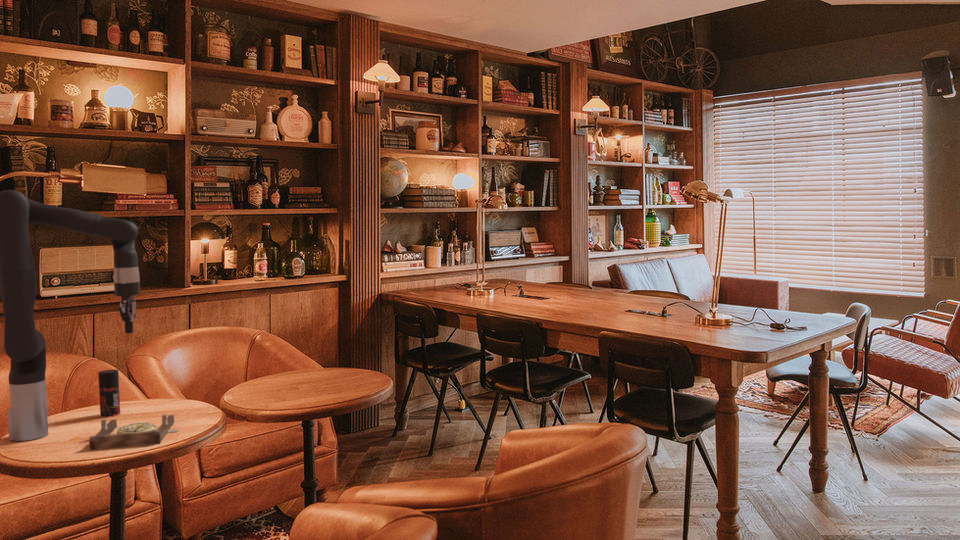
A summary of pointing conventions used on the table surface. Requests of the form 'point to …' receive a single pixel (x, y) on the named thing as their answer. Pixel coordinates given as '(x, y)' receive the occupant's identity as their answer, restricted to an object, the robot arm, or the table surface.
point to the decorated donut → (137, 428)
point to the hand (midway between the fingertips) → (129, 332)
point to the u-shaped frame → (129, 435)
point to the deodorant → (109, 392)
